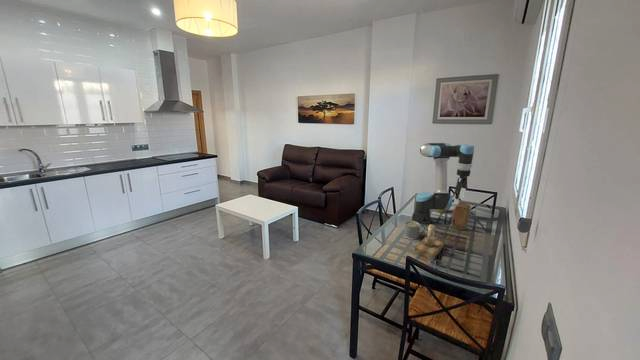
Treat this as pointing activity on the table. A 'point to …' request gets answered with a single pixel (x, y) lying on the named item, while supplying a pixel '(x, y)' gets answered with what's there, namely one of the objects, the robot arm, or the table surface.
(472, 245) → the table surface
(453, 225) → the block
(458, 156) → the robot arm
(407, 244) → the table surface
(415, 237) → the coffee mug
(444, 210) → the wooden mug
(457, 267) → the table surface
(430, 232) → the peg
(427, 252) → the board
